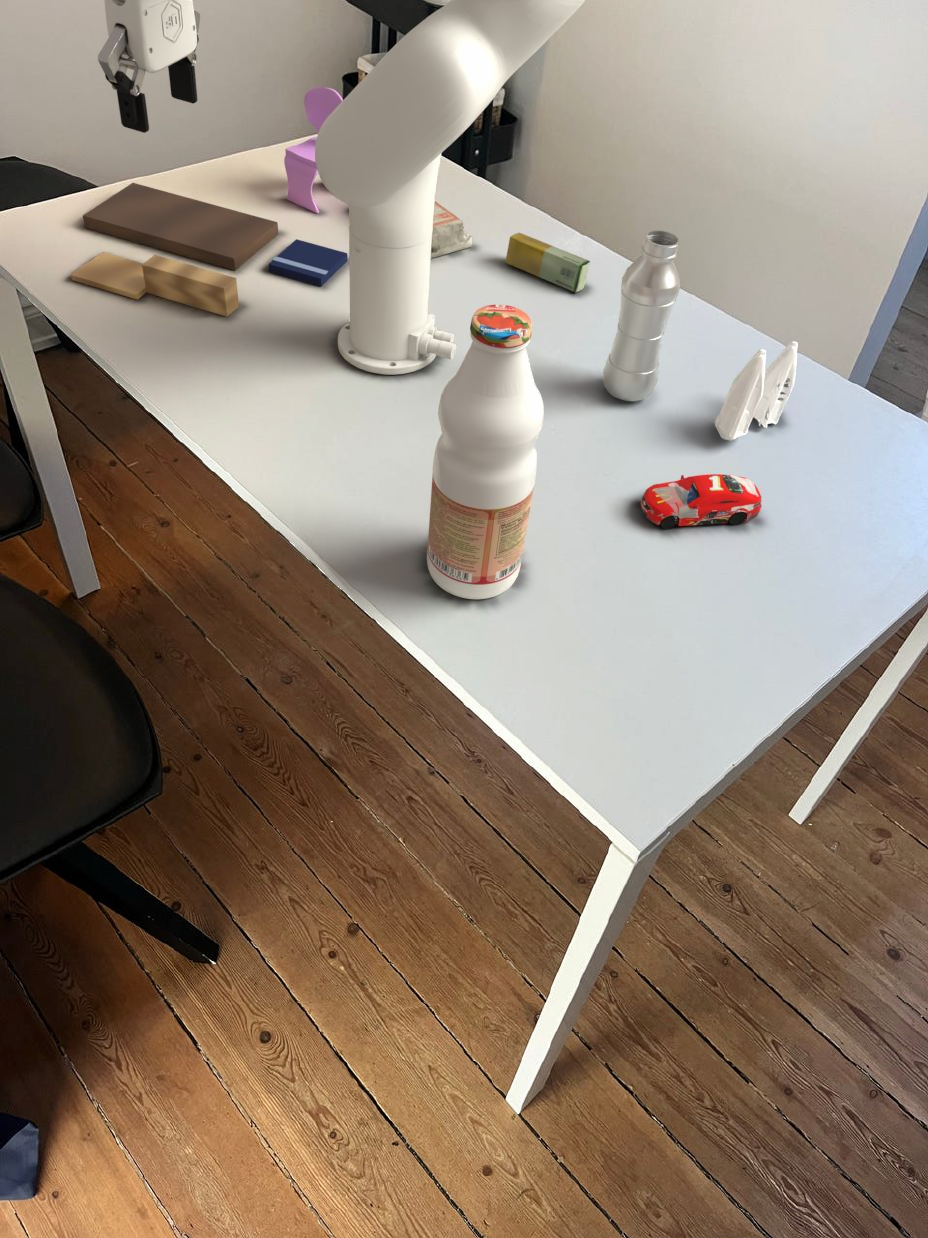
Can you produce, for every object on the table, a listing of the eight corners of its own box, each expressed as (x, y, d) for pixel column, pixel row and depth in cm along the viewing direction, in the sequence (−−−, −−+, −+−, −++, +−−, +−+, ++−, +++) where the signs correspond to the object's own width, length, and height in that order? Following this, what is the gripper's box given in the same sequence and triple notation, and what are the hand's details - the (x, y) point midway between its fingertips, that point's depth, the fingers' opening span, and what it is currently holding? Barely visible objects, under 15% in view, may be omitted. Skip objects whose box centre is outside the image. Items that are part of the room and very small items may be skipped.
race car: (645, 532, 104) (653, 503, 101) (632, 498, 108) (639, 469, 105) (762, 526, 106) (773, 498, 103) (745, 493, 110) (756, 465, 107)
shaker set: (727, 453, 115) (755, 373, 106) (700, 435, 117) (725, 354, 108) (789, 418, 120) (820, 339, 112) (762, 401, 122) (791, 322, 114)
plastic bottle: (656, 410, 119) (697, 255, 104) (600, 405, 119) (634, 249, 104) (650, 379, 124) (689, 226, 109) (597, 375, 123) (629, 221, 109)
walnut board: (278, 233, 141) (277, 221, 140) (235, 270, 133) (234, 258, 132) (134, 194, 146) (132, 182, 145) (85, 227, 138) (82, 215, 137)
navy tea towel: (347, 260, 138) (347, 252, 137) (321, 286, 132) (321, 277, 131) (296, 246, 139) (296, 238, 138) (268, 271, 134) (268, 262, 133)
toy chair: (279, 198, 149) (273, 92, 137) (319, 180, 154) (316, 77, 142) (320, 216, 146) (317, 110, 134) (359, 198, 151) (359, 94, 139)
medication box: (585, 288, 138) (592, 260, 135) (576, 293, 136) (583, 266, 133) (513, 257, 141) (518, 230, 139) (503, 262, 140) (508, 235, 137)
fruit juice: (427, 601, 95) (445, 350, 74) (424, 535, 101) (440, 285, 81) (523, 603, 96) (567, 355, 75) (515, 536, 102) (554, 290, 81)
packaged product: (477, 215, 139) (419, 231, 135) (474, 247, 143) (418, 264, 138) (405, 165, 148) (349, 179, 144) (404, 197, 152) (349, 211, 147)
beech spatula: (247, 299, 129) (244, 270, 126) (219, 324, 124) (215, 295, 122) (103, 257, 133) (98, 228, 130) (71, 280, 129) (64, 251, 126)
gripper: (120, -34, 93) (145, 150, 106) (218, -73, 104) (229, 97, 117) (53, -52, 94) (85, 131, 107) (156, -89, 105) (174, 81, 118)
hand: (160, 113), depth 112 cm, fingers open, 9 cm apart
